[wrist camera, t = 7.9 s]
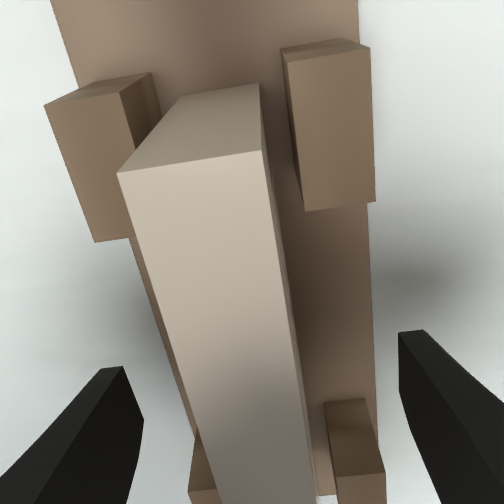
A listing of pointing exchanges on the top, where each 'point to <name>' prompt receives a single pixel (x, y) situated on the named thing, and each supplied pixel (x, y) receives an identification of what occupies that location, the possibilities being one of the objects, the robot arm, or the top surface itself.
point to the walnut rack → (284, 175)
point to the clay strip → (225, 290)
